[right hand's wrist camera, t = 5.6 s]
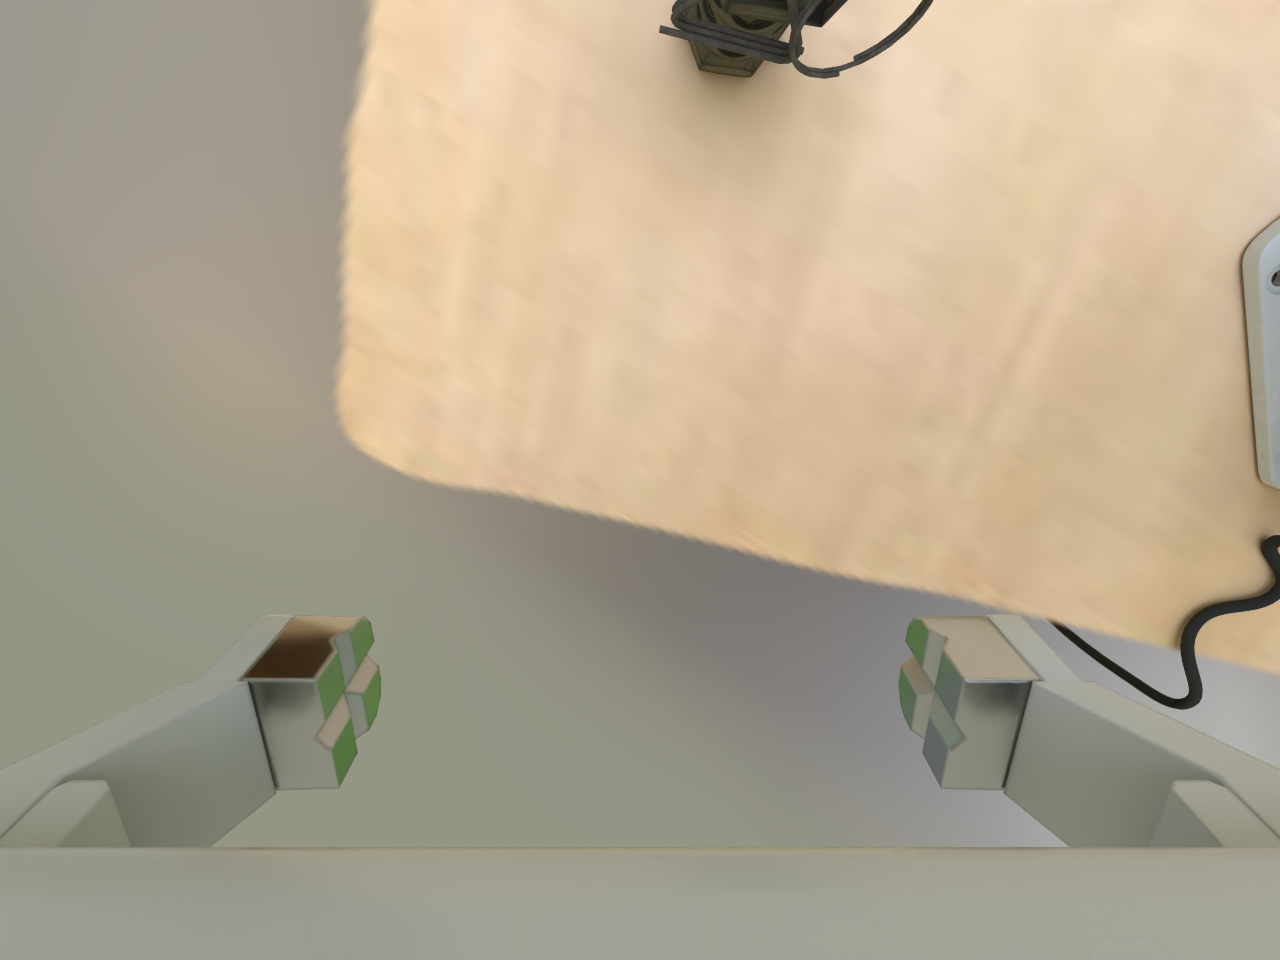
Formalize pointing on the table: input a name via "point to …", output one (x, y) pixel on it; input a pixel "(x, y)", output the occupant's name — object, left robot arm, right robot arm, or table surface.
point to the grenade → (762, 33)
